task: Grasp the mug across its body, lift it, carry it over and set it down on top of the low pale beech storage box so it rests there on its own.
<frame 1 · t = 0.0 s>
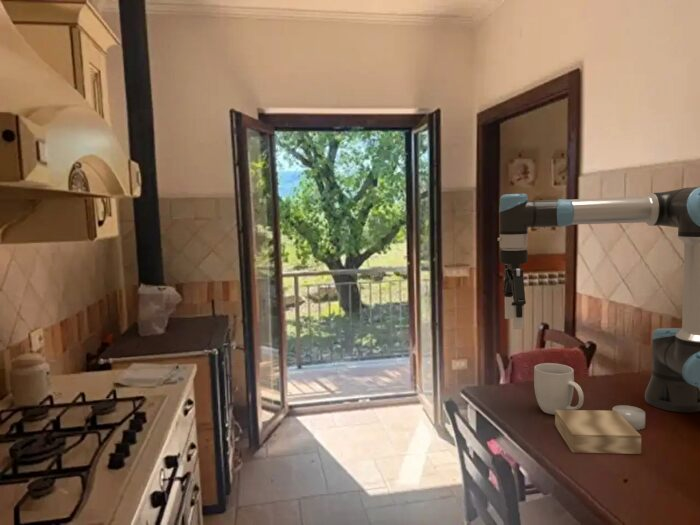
hand: (513, 323, 146), 28 cm above the table, fingers open, 13 cm apart
beech box: (595, 440, 134), on the table
mug: (556, 412, 153), on the table
stoneware dish: (628, 424, 143), on the table
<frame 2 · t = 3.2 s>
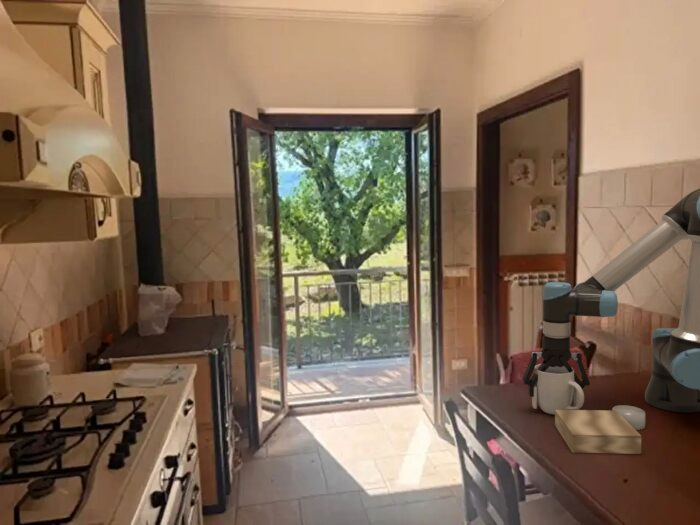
hand: (555, 407, 153), 1 cm above the table, fingers closed on mug, 11 cm apart
mug: (557, 412, 153), on the table, touching gripper
everything else where it was.
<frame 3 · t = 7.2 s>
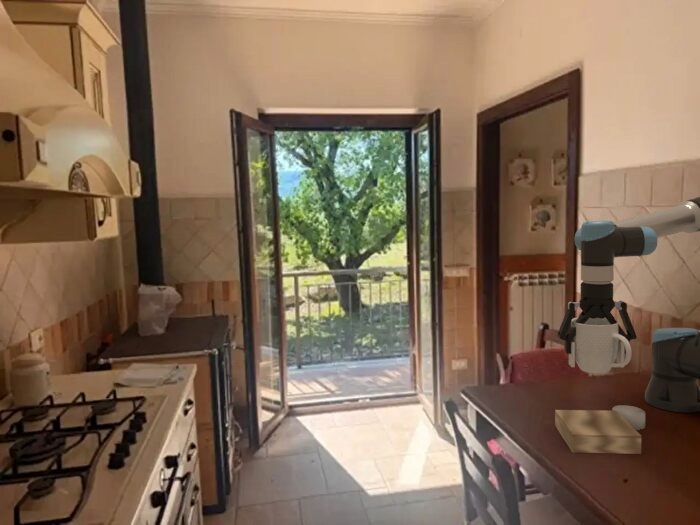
hand: (595, 365, 132), 20 cm above the table, fingers closed on mug, 11 cm apart
mug: (598, 371, 132), point 18 cm above the table, touching gripper
everything else where it was.
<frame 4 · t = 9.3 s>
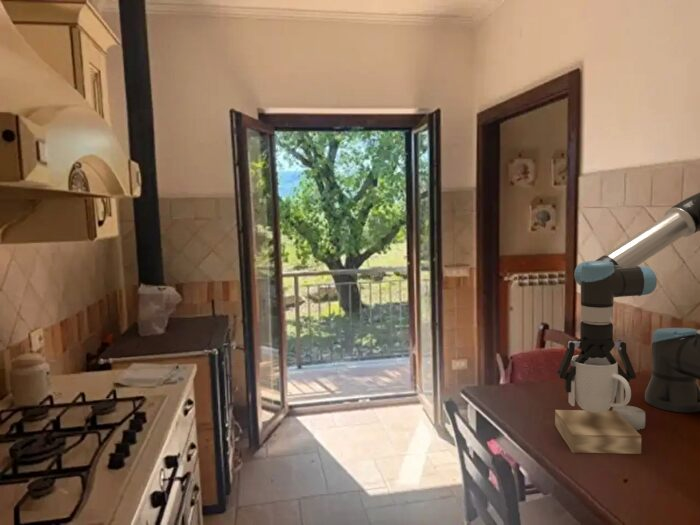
hand: (595, 404, 133), 9 cm above the table, fingers closed on mug, 11 cm apart
mug: (597, 410, 133), point 8 cm above the table, touching gripper
everything else where it was.
when the fingers open (9 cm above the table, at t = 11.0 s): mug drops 3 cm, point 4 cm above the table.
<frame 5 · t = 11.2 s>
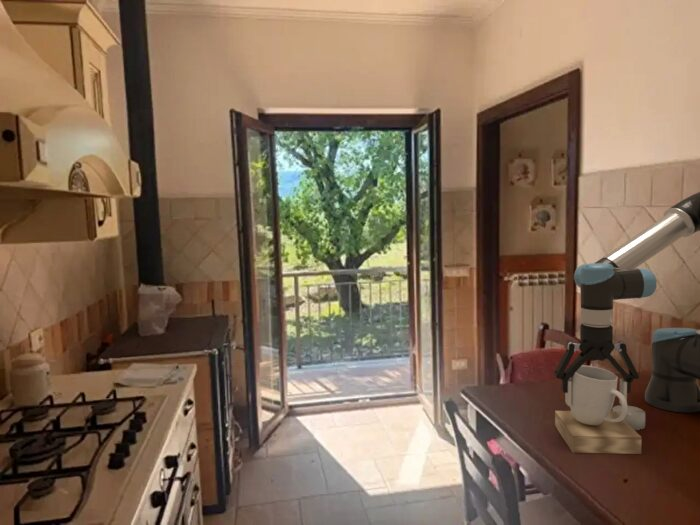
hand: (595, 404, 133), 9 cm above the table, fingers open, 13 cm apart
mug: (591, 422, 134), point 4 cm above the table, touching gripper
everything else where it was.
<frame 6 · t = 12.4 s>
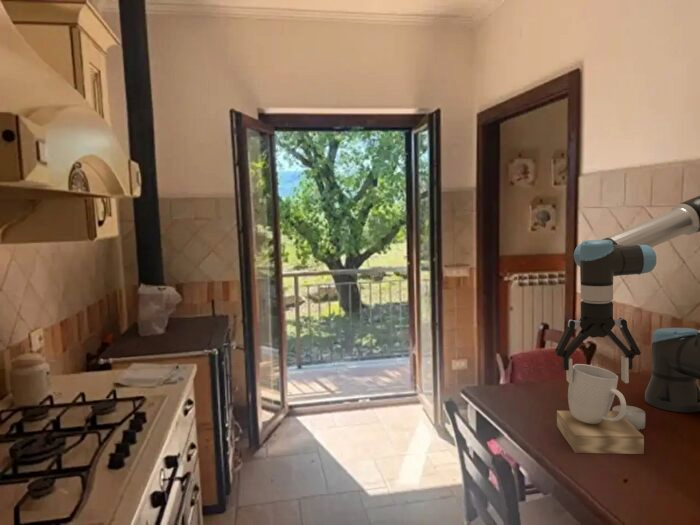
hand: (597, 381, 133), 15 cm above the table, fingers open, 13 cm apart
beech box: (597, 441, 134), on the table, touching mug
mug: (588, 421, 134), point 5 cm above the table, touching beech box
everything else where it was.
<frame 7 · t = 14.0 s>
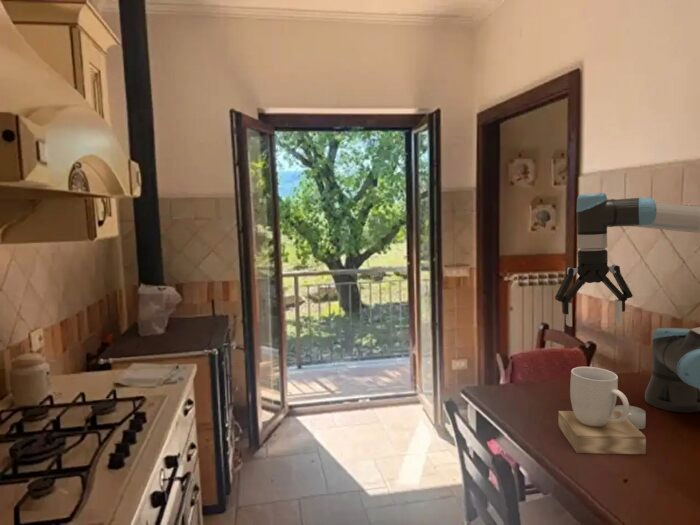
hand: (593, 324, 145), 27 cm above the table, fingers open, 13 cm apart
mug: (594, 423, 133), point 4 cm above the table, touching beech box
everything else where it was.
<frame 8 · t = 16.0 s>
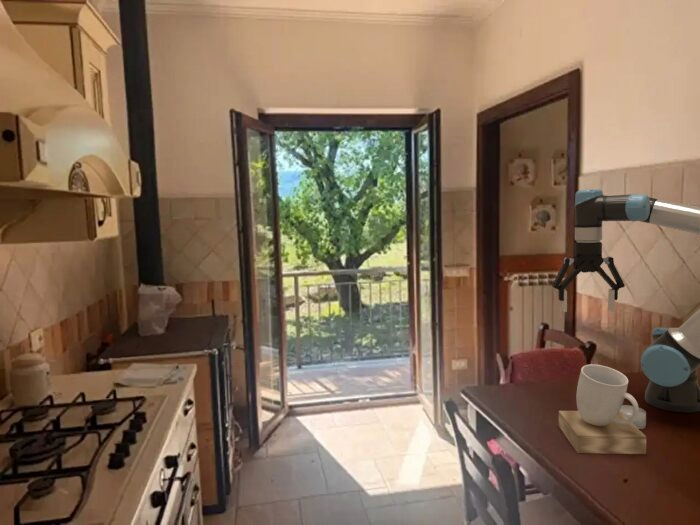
hand: (587, 311, 156), 29 cm above the table, fingers open, 13 cm apart
at the end: mug inside the target area on the beech box (0.7 cm from its centre), point 5.4 cm above the beech box's base; mug tilted 13°; the gripper is holding nothing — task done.
